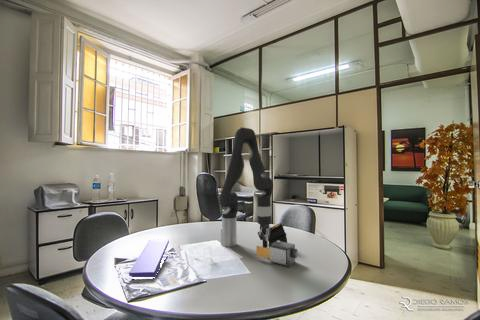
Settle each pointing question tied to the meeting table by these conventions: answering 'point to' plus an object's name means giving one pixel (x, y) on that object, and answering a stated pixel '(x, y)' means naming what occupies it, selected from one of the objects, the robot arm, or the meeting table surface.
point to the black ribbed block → (277, 234)
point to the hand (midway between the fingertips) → (265, 247)
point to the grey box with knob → (283, 245)
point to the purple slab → (149, 259)
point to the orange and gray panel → (274, 254)
